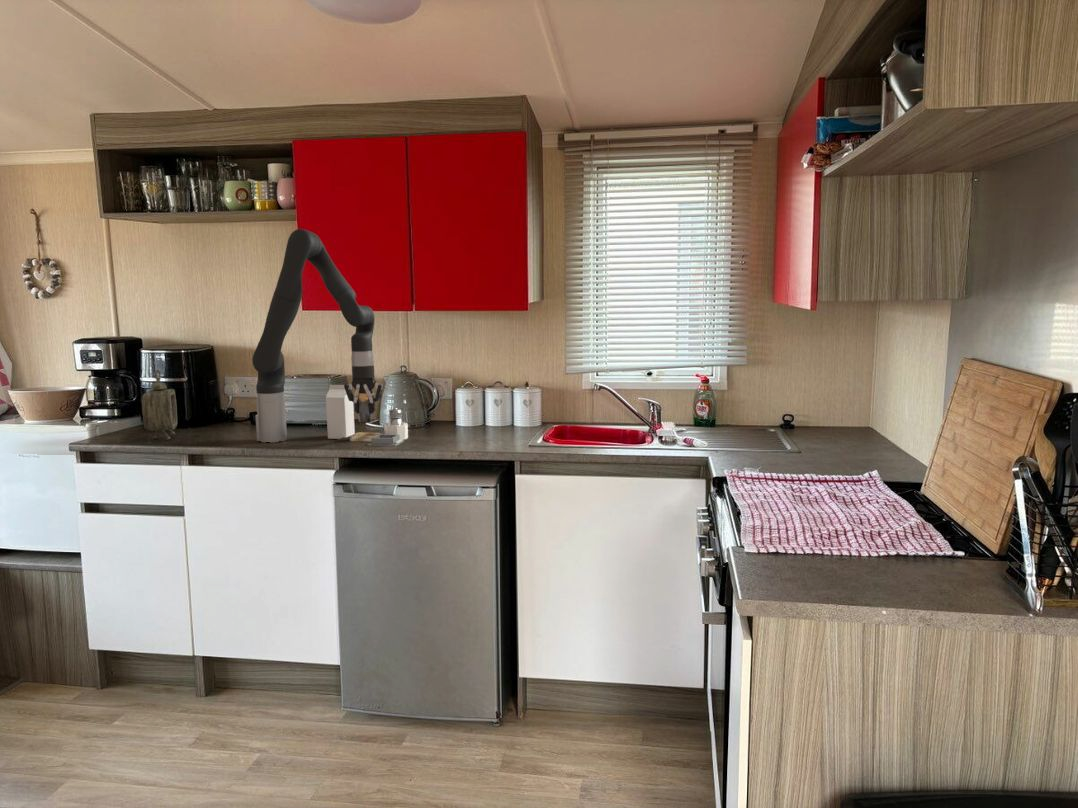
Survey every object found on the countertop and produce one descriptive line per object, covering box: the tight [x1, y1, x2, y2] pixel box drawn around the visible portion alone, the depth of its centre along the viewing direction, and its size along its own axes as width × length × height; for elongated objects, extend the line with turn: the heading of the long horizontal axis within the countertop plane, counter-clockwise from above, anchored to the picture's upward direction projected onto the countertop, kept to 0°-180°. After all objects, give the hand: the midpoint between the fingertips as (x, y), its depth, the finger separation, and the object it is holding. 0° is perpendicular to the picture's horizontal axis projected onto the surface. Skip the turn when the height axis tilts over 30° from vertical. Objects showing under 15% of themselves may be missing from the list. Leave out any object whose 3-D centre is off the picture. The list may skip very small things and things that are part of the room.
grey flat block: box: [366, 433, 405, 447], centre depth 265 cm, size 10×9×3 cm
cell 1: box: [358, 392, 373, 423], centre depth 271 cm, size 4×4×11 cm
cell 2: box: [388, 407, 403, 426], centre depth 273 cm, size 4×4×11 cm
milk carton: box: [325, 384, 356, 440], centre depth 280 cm, size 7×7×19 cm
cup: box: [383, 421, 409, 441], centre depth 274 cm, size 7×7×6 cm
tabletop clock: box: [141, 369, 178, 440], centre depth 282 cm, size 14×9×25 cm, turn 16°
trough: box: [349, 432, 383, 442], centre depth 272 cm, size 9×7×2 cm
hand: (365, 413), depth 271 cm, fingers closed on cell 1, 4 cm apart
